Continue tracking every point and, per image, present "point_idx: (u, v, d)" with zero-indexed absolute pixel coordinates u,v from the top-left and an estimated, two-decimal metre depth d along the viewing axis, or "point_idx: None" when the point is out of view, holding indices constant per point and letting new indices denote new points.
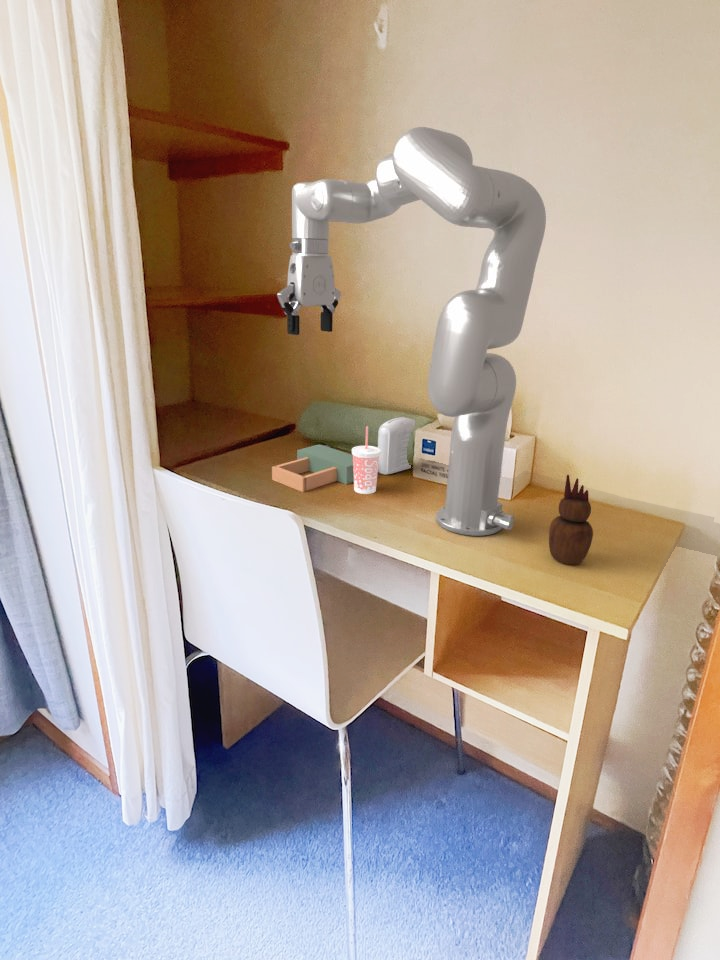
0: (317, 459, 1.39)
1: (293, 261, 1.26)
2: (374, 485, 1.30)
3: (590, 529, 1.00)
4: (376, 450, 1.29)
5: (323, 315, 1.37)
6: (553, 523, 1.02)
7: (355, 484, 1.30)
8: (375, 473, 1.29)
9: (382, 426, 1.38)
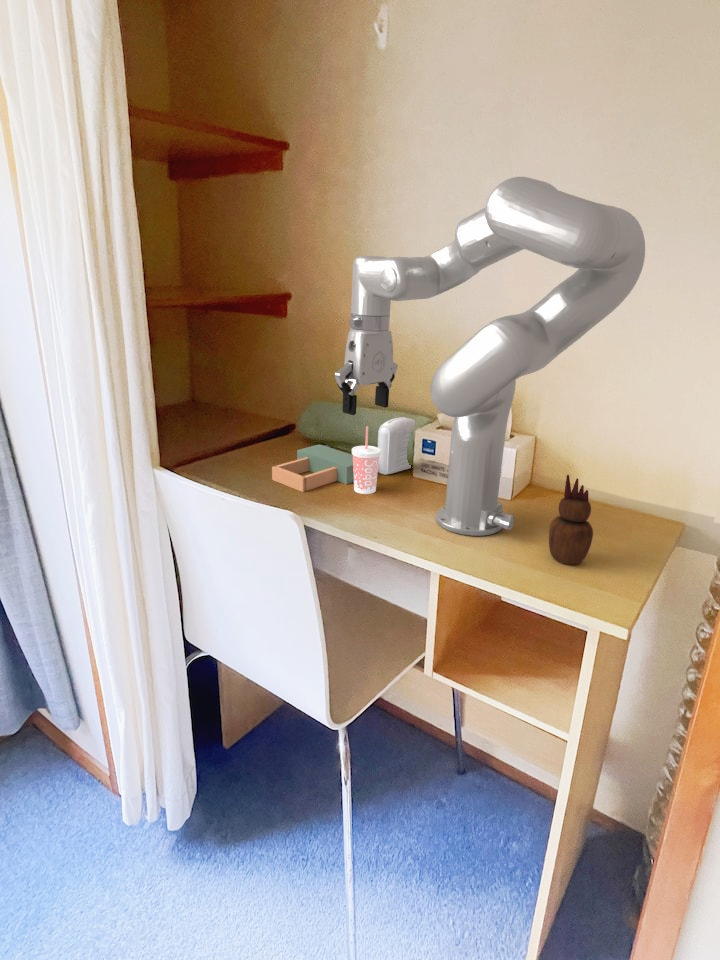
0: (317, 459, 1.39)
1: (352, 338, 1.17)
2: (374, 485, 1.30)
3: (590, 529, 1.00)
4: (376, 450, 1.29)
5: (379, 390, 1.28)
6: (553, 523, 1.02)
7: (355, 484, 1.30)
8: (375, 473, 1.29)
9: (382, 426, 1.38)
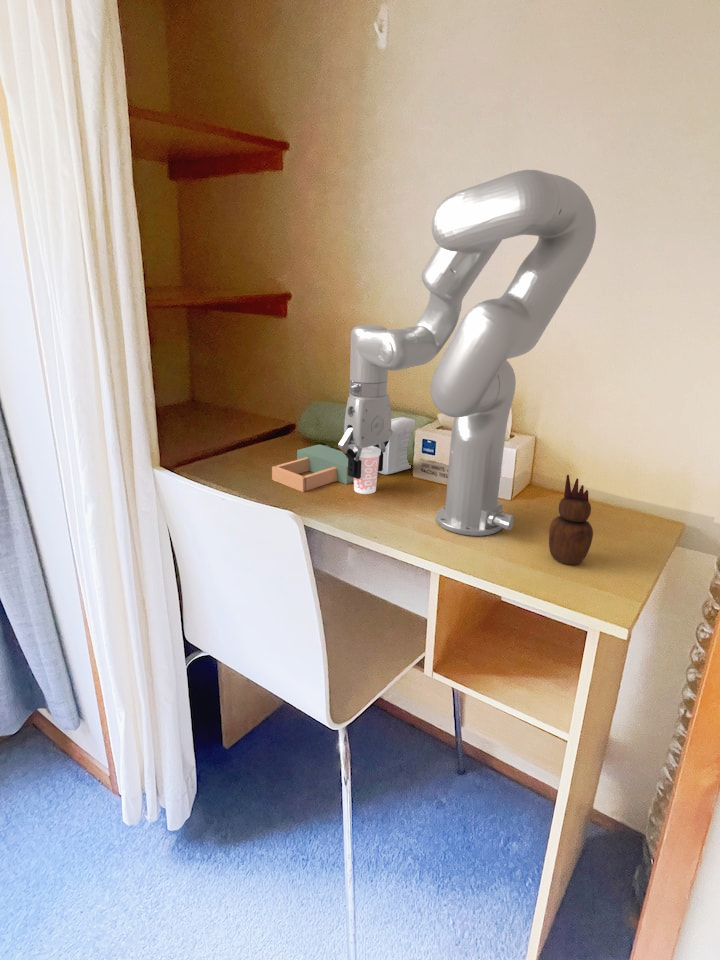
0: (317, 459, 1.39)
1: (351, 404, 1.22)
2: (374, 485, 1.30)
3: (590, 529, 1.00)
4: (376, 450, 1.29)
5: None
6: (553, 523, 1.02)
7: (355, 484, 1.30)
8: (375, 473, 1.29)
9: None
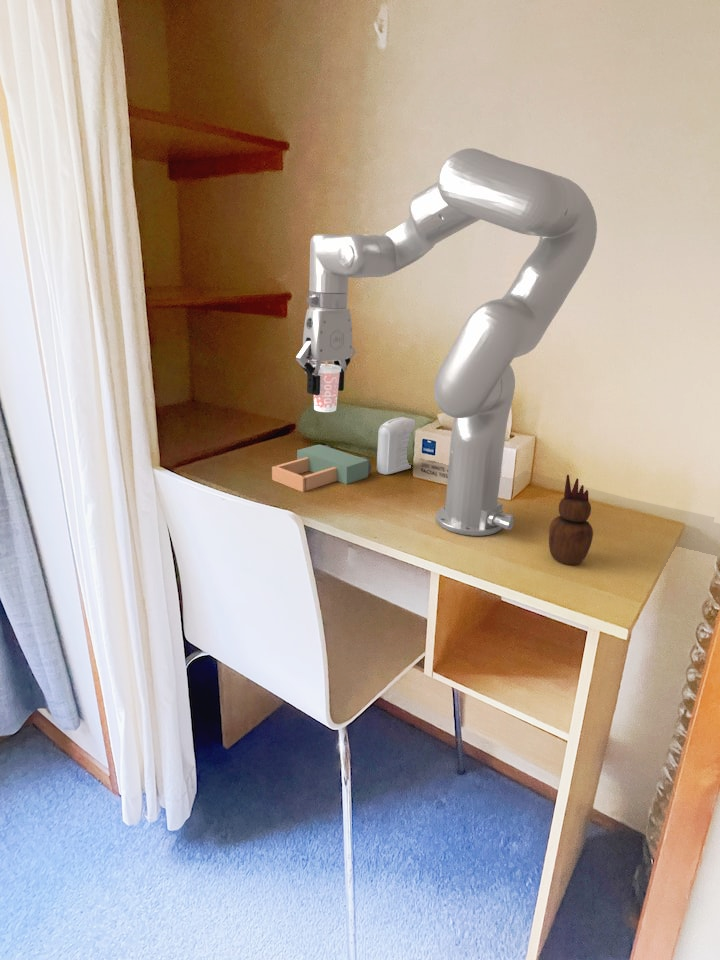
0: (317, 459, 1.39)
1: (310, 316, 1.19)
2: (334, 403, 1.28)
3: (590, 529, 1.00)
4: (336, 367, 1.26)
5: None
6: (553, 523, 1.02)
7: (315, 402, 1.28)
8: (335, 391, 1.26)
9: (382, 426, 1.38)
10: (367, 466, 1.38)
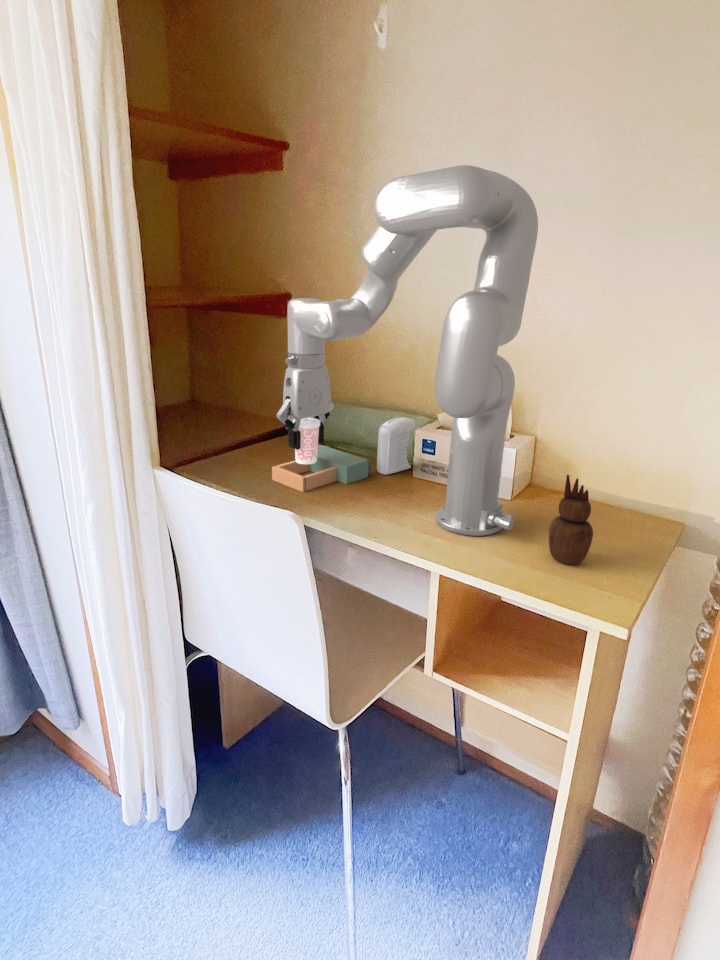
0: (317, 459, 1.39)
1: (289, 376, 1.25)
2: (314, 456, 1.33)
3: (590, 529, 1.00)
4: (316, 421, 1.32)
5: None
6: (553, 523, 1.02)
7: (296, 455, 1.33)
8: (315, 444, 1.32)
9: (382, 426, 1.38)
10: (367, 466, 1.38)
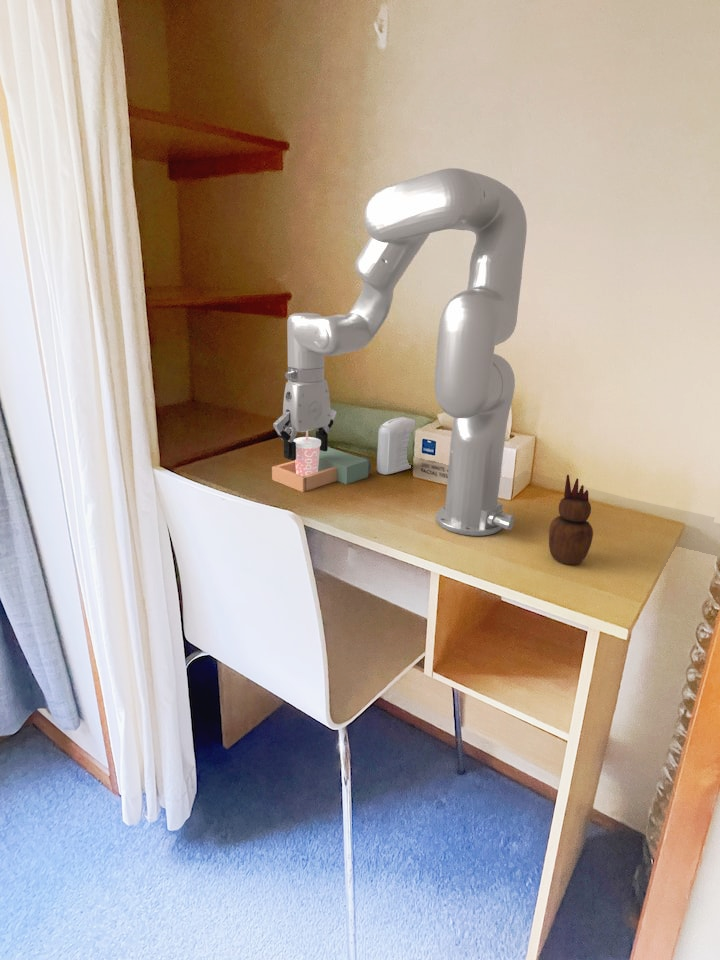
0: None
1: (289, 390, 1.26)
2: None
3: (590, 529, 1.00)
4: (316, 441, 1.33)
5: (318, 435, 1.36)
6: (553, 523, 1.02)
7: None
8: (315, 463, 1.33)
9: (382, 426, 1.38)
10: (367, 466, 1.38)
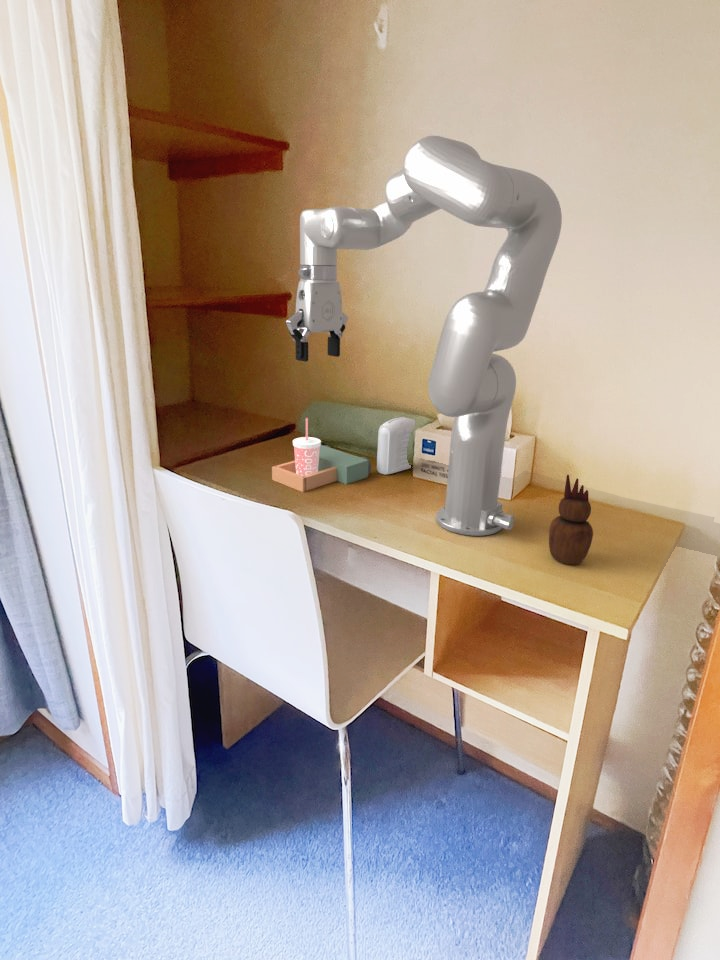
0: None
1: (302, 288, 1.25)
2: None
3: (590, 529, 1.00)
4: (316, 441, 1.33)
5: (330, 340, 1.36)
6: (553, 523, 1.02)
7: None
8: (315, 463, 1.33)
9: (382, 426, 1.38)
10: (367, 466, 1.38)
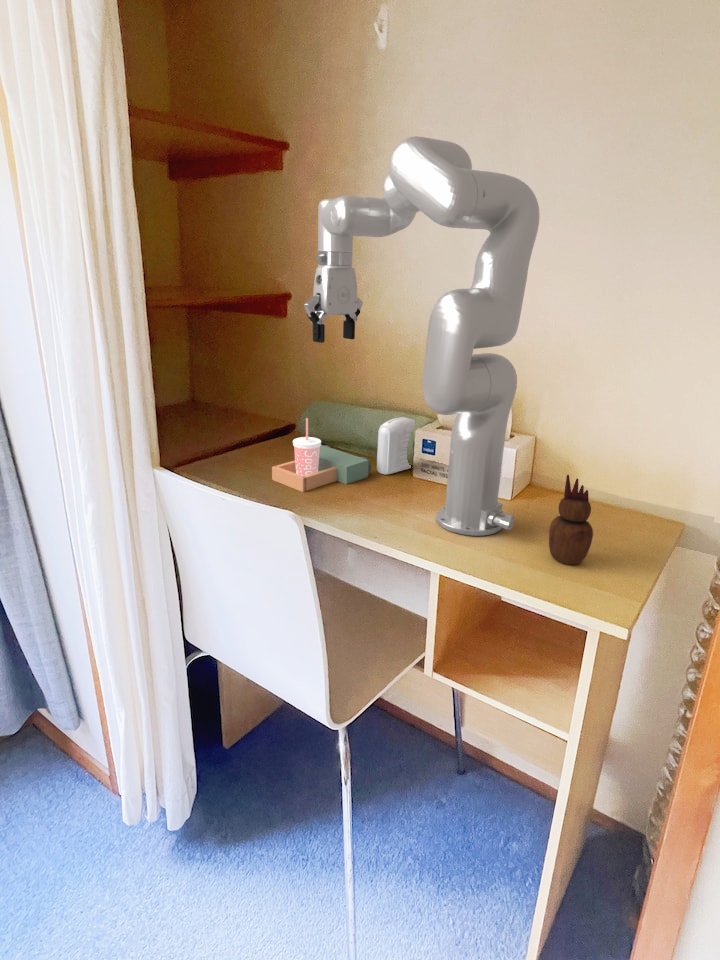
0: None
1: (319, 273, 1.33)
2: None
3: (590, 529, 1.00)
4: (316, 441, 1.33)
5: (346, 323, 1.44)
6: (553, 523, 1.02)
7: None
8: (315, 463, 1.33)
9: (382, 426, 1.38)
10: (367, 466, 1.38)
